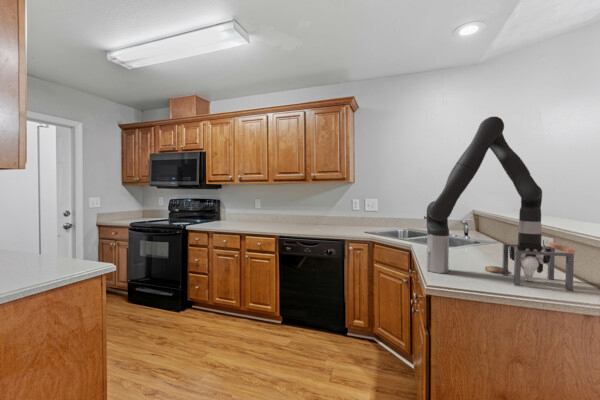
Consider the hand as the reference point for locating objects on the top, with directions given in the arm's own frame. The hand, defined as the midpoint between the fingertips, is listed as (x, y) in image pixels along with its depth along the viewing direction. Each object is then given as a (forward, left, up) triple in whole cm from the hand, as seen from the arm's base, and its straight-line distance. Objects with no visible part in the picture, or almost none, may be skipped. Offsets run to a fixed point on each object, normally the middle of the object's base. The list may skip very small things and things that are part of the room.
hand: (528, 271), depth 117 cm
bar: (+10, 0, +10) cm, 14 cm away
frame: (+2, 0, -4) cm, 5 cm away
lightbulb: (0, 0, -4) cm, 4 cm away
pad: (-8, +13, -4) cm, 16 cm away
